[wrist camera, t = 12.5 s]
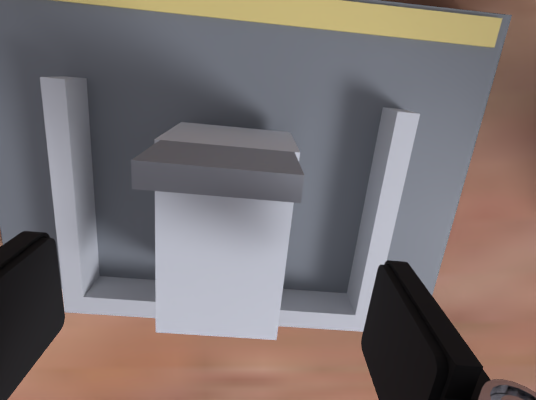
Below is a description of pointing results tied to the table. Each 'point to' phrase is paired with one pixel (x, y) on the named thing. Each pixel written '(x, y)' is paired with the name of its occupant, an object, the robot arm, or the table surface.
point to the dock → (245, 116)
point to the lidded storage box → (220, 226)
